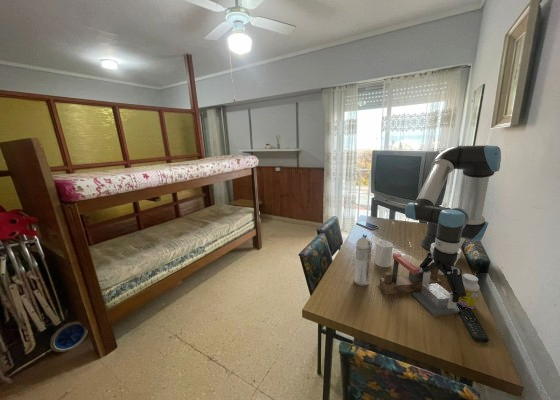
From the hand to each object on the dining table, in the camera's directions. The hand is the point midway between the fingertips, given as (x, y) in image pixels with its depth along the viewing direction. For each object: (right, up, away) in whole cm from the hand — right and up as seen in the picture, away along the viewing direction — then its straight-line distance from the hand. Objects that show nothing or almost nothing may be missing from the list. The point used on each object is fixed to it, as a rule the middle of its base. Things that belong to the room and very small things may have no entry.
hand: (437, 295), depth 91 cm
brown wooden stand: (-5, -1, +11) cm, 12 cm away
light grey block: (0, -3, +1) cm, 3 cm away
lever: (-13, +12, +2) cm, 18 cm away
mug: (-9, +4, +30) cm, 32 cm away
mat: (0, -4, +1) cm, 4 cm away
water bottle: (-26, -1, +16) cm, 30 cm away
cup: (+18, +3, +22) cm, 29 cm away
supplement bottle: (+11, -4, 0) cm, 12 cm away
